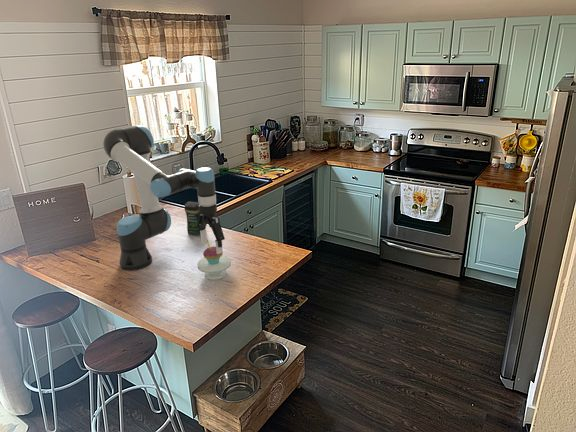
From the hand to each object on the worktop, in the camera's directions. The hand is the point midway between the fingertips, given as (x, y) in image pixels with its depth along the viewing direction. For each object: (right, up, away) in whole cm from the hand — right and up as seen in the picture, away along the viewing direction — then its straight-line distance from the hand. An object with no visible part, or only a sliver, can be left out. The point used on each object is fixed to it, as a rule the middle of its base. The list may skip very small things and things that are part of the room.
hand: (211, 248), depth 196 cm
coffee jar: (-17, +4, +51) cm, 54 cm away
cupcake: (+1, -7, +2) cm, 7 cm away
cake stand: (+1, -13, +5) cm, 13 cm away
